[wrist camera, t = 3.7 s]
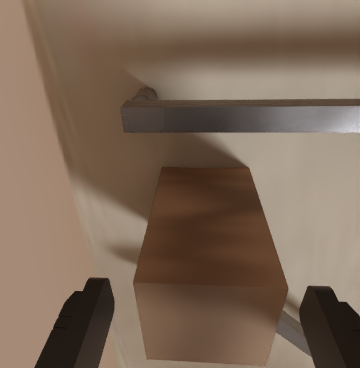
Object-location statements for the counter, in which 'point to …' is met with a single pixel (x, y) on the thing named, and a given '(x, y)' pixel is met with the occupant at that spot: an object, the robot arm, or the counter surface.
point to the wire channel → (243, 122)
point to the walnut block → (208, 270)
